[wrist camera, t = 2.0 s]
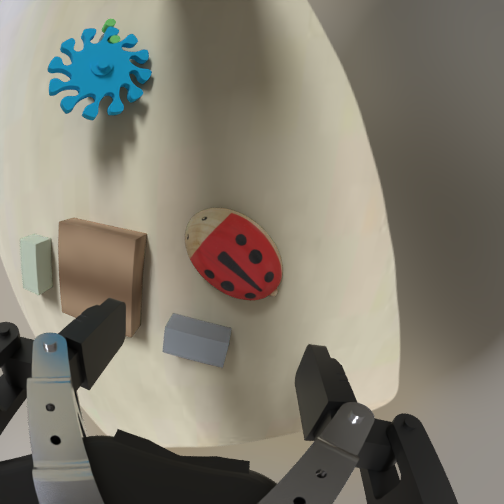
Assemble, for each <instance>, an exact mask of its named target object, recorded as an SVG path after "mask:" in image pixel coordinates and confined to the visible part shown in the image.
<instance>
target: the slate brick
mask: <svg viewBox="0 0 504 504" xmlns="http://www.w3.org/2000/svg"><path fill="white" fill-rule="evenodd" d="M230 335H231V328H230V327H225V326H221V325H217V324H213V323H209V322H205V321H201V320H197V319H193V318H189V317H186V316H182V315H178V314H175V313H173V314H172V316H171V318H170V320H169V321H168V323H167V325H166V326H165V333H164V343H163V352H165V353H168V354H172V355H175V356H179V357H182V358H186V359H190V360H193V361H197V362H201V363H205V364H209V365H213V366H218V367H222V368H223V365H224V361H225V357H226V353H227V350H228V346H229V341H230Z"/></svg>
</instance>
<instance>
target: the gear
mask: <svg viewBox="0 0 504 504" xmlns="http://www.w3.org/2000/svg"><path fill="white" fill-rule="evenodd" d="M115 23H116V21H115V20H114V19H108V20H107V21H106V22H105V24H104V26H103V28H102V32H103V33H104V34H103V35H102V36H101V38H100V40H99V42H98V43H97V44H92V43H91V42H90V41H91V40H92V39H93V38H94V36H95V34H96V29H93V28H90V29H84V31H83V33H82V36H81V39H82V40H83V43H84V48H83V50H82V51H79V52H77V51H75V50H74V45H75V40H74V39H73V38H71V39H68V40H66V41H65V42H63V43H62V44H61V48H60V50H61V52H62V53H64V54H66V55H68V56H69V58H70V59H71V62H72V64H71V65H68V66H66V65H64V64H63V62H62V59H61V58H60V57H54V58H53V59H52V61H51V62H50V64H49V66H48V72H49V73H62V74H65V75H66V76H68V77H69V78H70V81H68V82H63V81H61V80H60V79H58V78H54V79H52V80H50V84H49V95H50V96H54V95H56V94H58V93H59V92H61V91H64V90H77V91H78V93H79V94H78V95H77V96H66V97H64V98H63V99H62V100H61V103H60V106H61V108H62V110H63V111H64V112H65V113H66V114H68V113H70V112H71V111H72V110H73V108H74V106H75V105H76V104H77V103H78V102H79V101H80V100H82V99H84V98H87V97H92V98H93V99H94V103H92V104H90V105H88V106H86V107H85V109H84V111H83V114H82V116H83V117H84V118H86V119H89V120H94V119H95V118H96V116H97V114H98V106H99V102H100V101H101V99H102V98H103V97H104V96H110V97H111V98H112V100H113V101H112V103H111V104H110V106H109V107H108V109H107V113H108V115H118V114H120V113H121V112H122V111H123V109H124V105H123V103H122V102H121V100H120V97H119V90H120V87H125V88H126V89H127V90H128V93H127V99H128V101H129V102H130V103H132V102H134V101H136V100H137V99H138V98H140V97H141V96H142V95H143V91H142V89H140V88H138V87H137V86H135V85H134V84H133V82H132V81H131V79H130V76H129V74H134V75H135V76H136V78H137V81H138V82H139V83H141V84H144V83H145V82H146V81H147V80H148V79H149V77H150V76H151V73H152V71H151V70H149V69H143V68H139V67H136V66H135V65H133V64H132V63H131V62H130V59H133V60H135V61H136V62H137V63H139V64H144V63H145V62H146V61H147V60H148V58H149V53H148V50H140V51H137V52H128V51H124V50H122V47H126V48H132V47H134V46H135V45H136V43H137V42H138V40H137V38H136V37H135V36H134V35H133V34H130V35H128V36H127V37H126V38H125V39H124V40H123V41H121V42H119V41H120V37H119V36H117V34H118V33H119V30H118V29H117V28H114V25H115Z"/></svg>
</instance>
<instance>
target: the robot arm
mask: <svg viewBox="0 0 504 504" xmlns="http://www.w3.org/2000/svg"><path fill="white" fill-rule="evenodd" d="M125 335H126V304H125V302H122V301H119V300H116V299H113V298H108V299H107V300H105V301H104V302H103V303H102V304H101V305H100V306H99V305H95V306H92V307H89V308H87V309H86V310H85V311H84V312H82V313H81V315H79V316H78V317H77V318H76V319H74V320H73V321H72V322H71V323H70V324H68V325H67V326H66V327H65V328H64V329H63V330H62V331H61V332H59V333H58V334H56V333H44V334H41V335H39V336H37V337H36V338H35V340H32V339H27V338H23V337H20V334H19V330H18V328H17V326H16V325H15V324H13V323H10V322H2V323H0V368H2V371H3V375H2V376H1V377H0V435H1V433H2V432H3V430H4V429H5V427H6V426H7V424H8V423H9V421H10V420H11V419H12V417H13V416H14V414H15V413H16V412H17V410H18V409H19V407H20V406H21V405H22V403H23V402H24V401H25V399H26V398H27V410H28V425H29V435H30V443H31V450H32V454H30V455H26V456H22V457H19V458H14V459H10V460H5V461H1V462H0V504H333V502H334V501H335V499H336V498H337V496H338V495H339V493H340V492H341V490H342V488H343V487H344V485H345V484H346V482H347V480H348V478H349V477H350V475H351V473H352V472H353V470H354V468H355V467H358V468H360V472H361V477H362V481H363V486H364V490H365V495H366V500H367V504H458V503H457V500H456V497H455V495H454V492H453V490H452V487H451V485H450V483H449V480H448V478H447V476H446V473H445V471H444V469H443V466H442V464H441V462H440V460H439V458H438V456H437V454H436V452H435V449H434V447H433V445H432V443H431V441H430V439H429V437H428V435H427V433H426V431H425V429H424V427H423V425H422V423H421V422H420V420H418V419H417V418H416V417H414V416H413V415H409V414H399V415H397V416H396V417H395V418H394V420H393V421H392V422H388V421H384V420H379V419H375V418H374V415H373V413H372V411H371V410H370V409H369V408H368V407H366V406H365V405H363V404H360V403H357V400H356V398H355V395H354V393H353V391H352V388H351V386H350V383H349V382H348V379H347V376H346V375H345V372H344V369H343V367H342V365H341V364H340V363H339V362H338V361H337V360H336V359H334V358H330V355H329V353H328V350H327V348H326V347H325V346H319V345H312V344H309V345H308V346H307V347H306V350H305V352H304V355H303V357H302V360H301V362H300V365H299V367H298V370H297V372H296V377H295V387H296V393H297V398H298V404H299V410H300V416H301V422H302V428H303V434H304V440H306V441H314V443H313V444H312V445H311V446H310V448H309V449H308V450H307V451H306V452H305V454H304V455H303V456H302V457H301V458H300V460H299V461H298V462H297V463H296V464H295V465H294V466H293V468H292V469H291V470H290V471H289V472H288V473H287V474H286V475H285V476H284V477H283V478H282V480H281V481H280V482H279V483H278V484H277V483H275V482H274V481H272V480H271V479H269V478H267V477H266V476H264V475H262V474H260V473H257V472H255V471H252V470H249V463H250V462H249V461H244V460H236V459H228V458H222V457H217V456H214V457H213V456H212V457H211V456H210V457H197V456H180V455H177V454H175V453H173V452H171V451H169V450H167V449H165V448H163V447H161V446H159V445H157V444H155V443H153V442H152V441H150V440H148V439H144V438H141V437H138V436H136V435H133V434H130V433H127V432H124V431H122V430H119V429H118V430H117V432H116V434H115V436H114V437H113V436H89V437H88V434H87V431H86V428H85V424H84V420H83V416H82V412H81V408H80V403H79V398H78V394H77V390H78V388H79V387H80V386H81V387H83V388H85V389H88V390H90V389H91V387H92V386H93V385H94V383H95V382H96V380H97V379H98V378H99V376H100V375H101V373H102V372H103V371H104V369H105V368H106V366H107V365H108V364H109V362H110V361H111V360H112V358H113V357H114V355H115V354H116V353H117V351H118V350H119V349H120V347H121V346H122V344H123V342H124V340H125ZM396 462H397V464H398V467H399V470H400V473H401V480H399V476H398V473H397V470H396V467H395V463H396Z"/></svg>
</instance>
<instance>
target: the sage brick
mask: <svg viewBox="0 0 504 504" xmlns="http://www.w3.org/2000/svg"><path fill="white" fill-rule="evenodd" d="M20 255H21V270H22V280H23V288H25V289H27V290H29V291H31V292H33V293H35V294H37V295H40V294H42V293H43V292H45V291H46V290H48V289H50V288H51V287H53V284H52V266H51V238H48V237H45V236H41V235H38V234H33V235H30V236H27V237H24V238H21V239H20Z"/></svg>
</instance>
